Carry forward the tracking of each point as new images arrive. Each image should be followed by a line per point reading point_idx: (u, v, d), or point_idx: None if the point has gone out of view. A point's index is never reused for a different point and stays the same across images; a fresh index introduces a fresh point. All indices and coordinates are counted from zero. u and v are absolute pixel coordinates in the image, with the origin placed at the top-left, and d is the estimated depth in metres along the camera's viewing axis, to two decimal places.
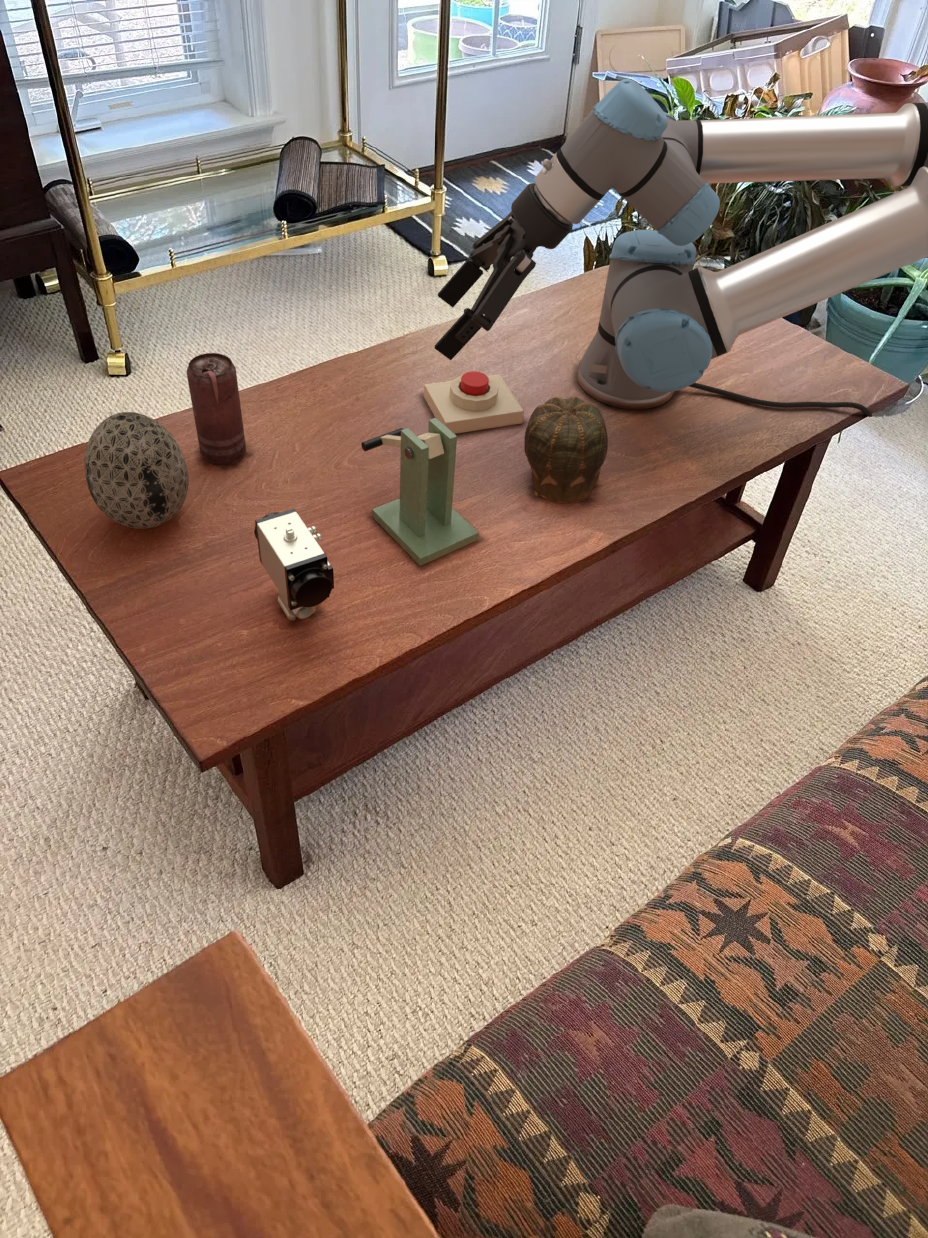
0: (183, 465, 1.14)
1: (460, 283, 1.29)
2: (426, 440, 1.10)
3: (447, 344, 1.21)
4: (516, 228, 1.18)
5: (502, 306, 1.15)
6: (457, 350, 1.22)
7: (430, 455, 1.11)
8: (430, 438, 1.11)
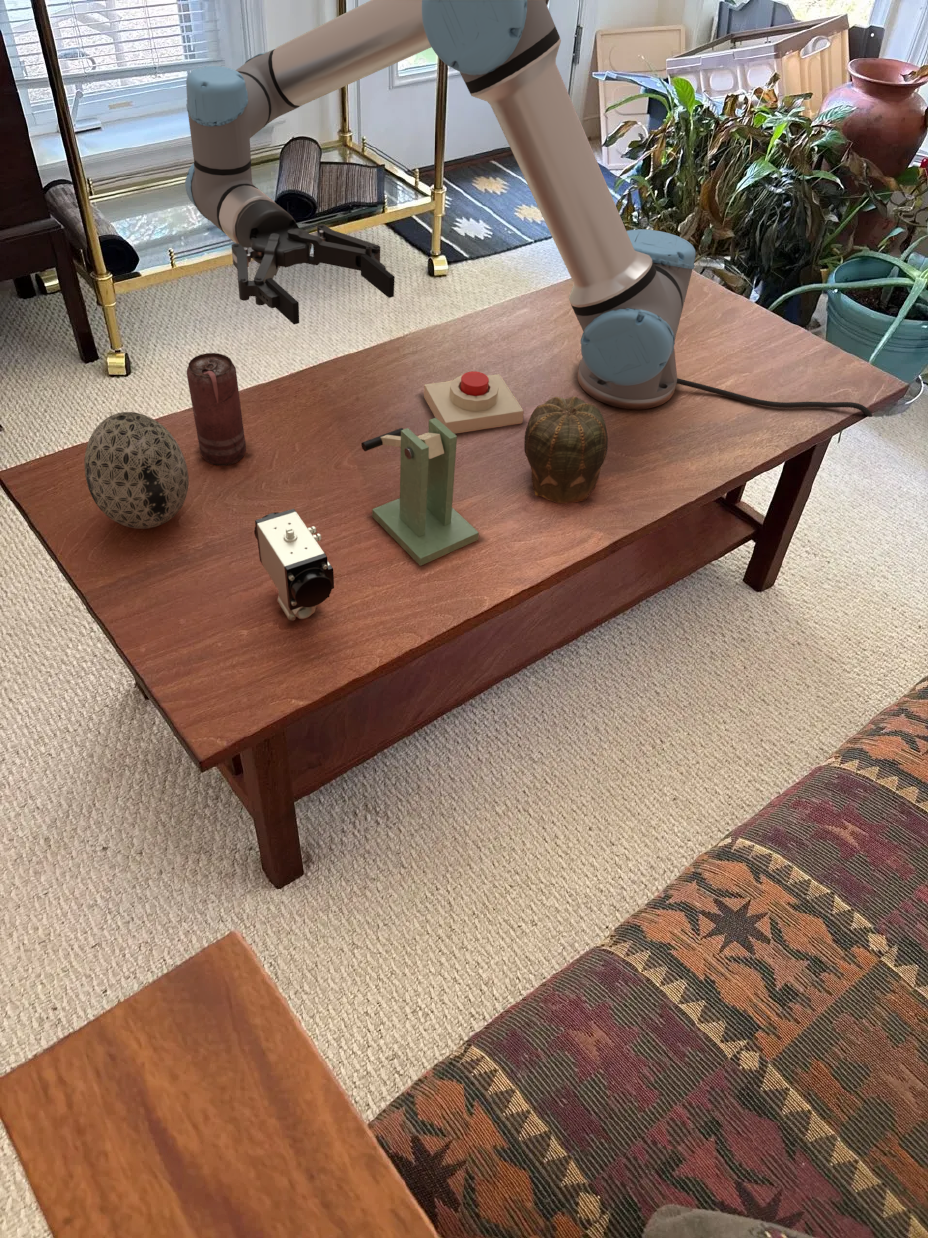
0: (183, 465, 1.14)
1: (374, 276, 1.20)
2: (426, 440, 1.10)
3: (287, 311, 1.13)
4: None
5: (237, 270, 1.16)
6: (286, 299, 1.12)
7: (430, 455, 1.11)
8: (430, 438, 1.11)
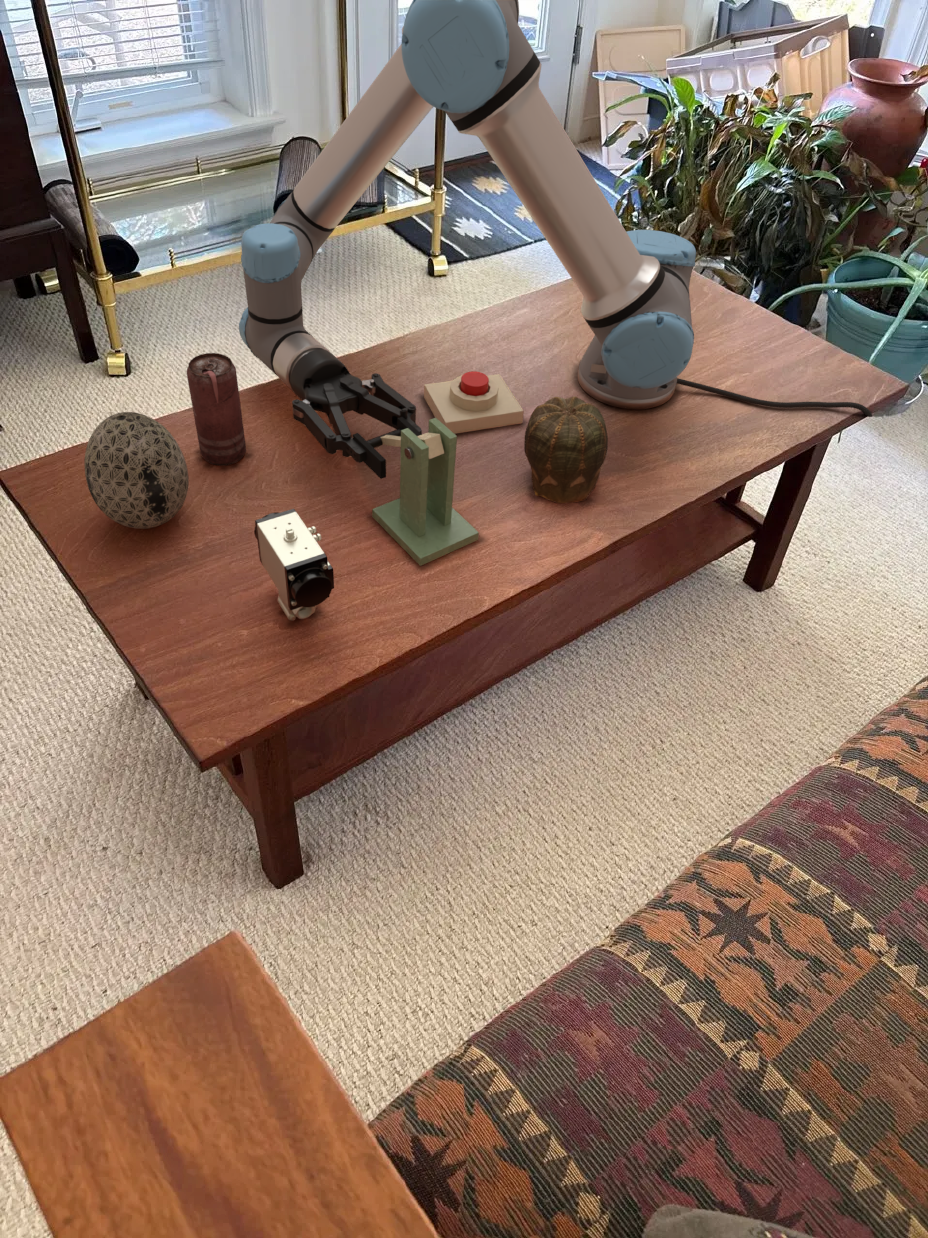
0: (183, 465, 1.14)
1: None
2: (426, 440, 1.10)
3: (374, 466, 1.18)
4: None
5: (316, 427, 1.21)
6: (373, 456, 1.17)
7: (430, 455, 1.11)
8: (430, 438, 1.11)
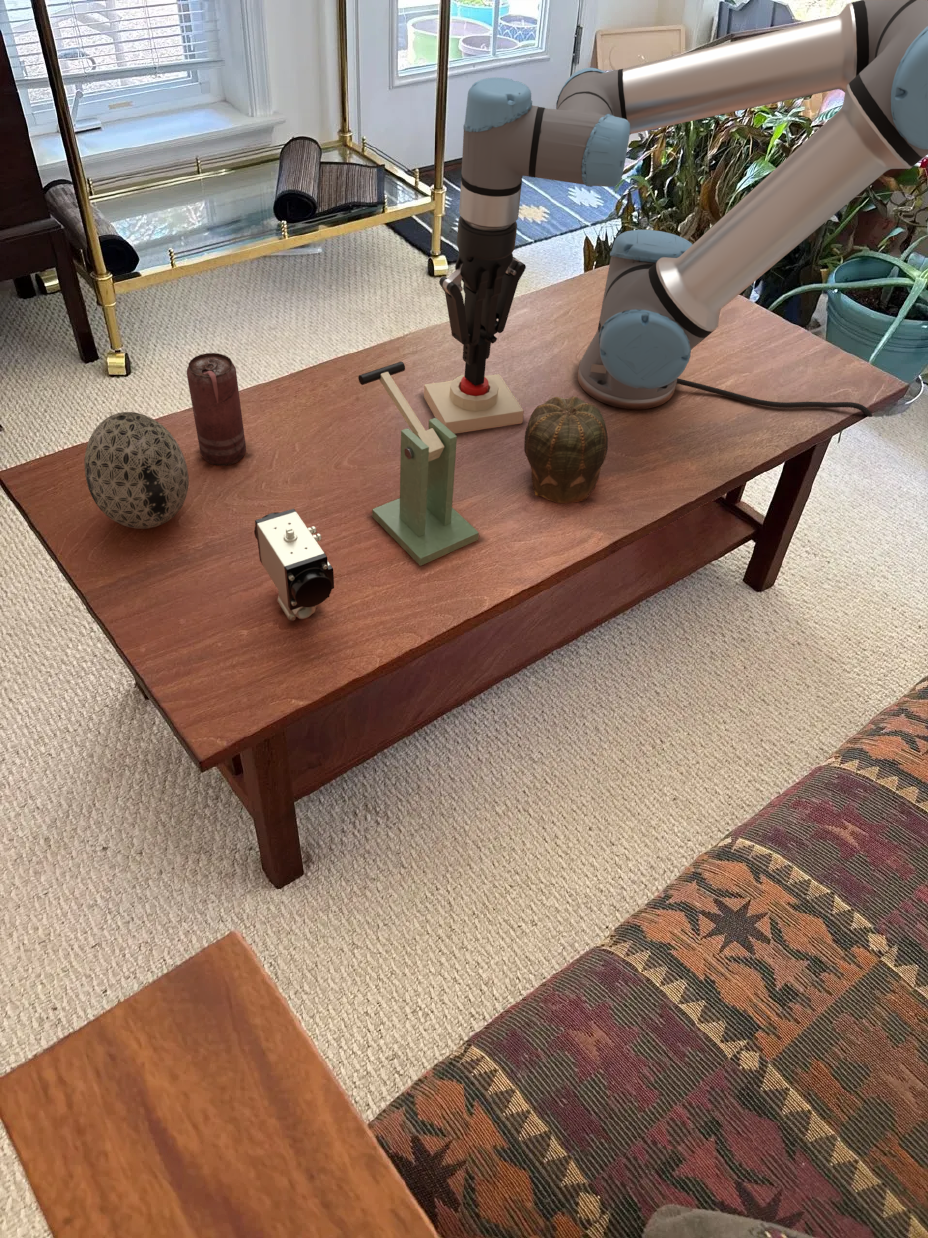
0: (183, 465, 1.14)
1: None
2: (430, 452, 1.11)
3: (469, 370, 1.36)
4: None
5: (458, 324, 1.27)
6: (475, 374, 1.35)
7: None
8: (434, 450, 1.11)
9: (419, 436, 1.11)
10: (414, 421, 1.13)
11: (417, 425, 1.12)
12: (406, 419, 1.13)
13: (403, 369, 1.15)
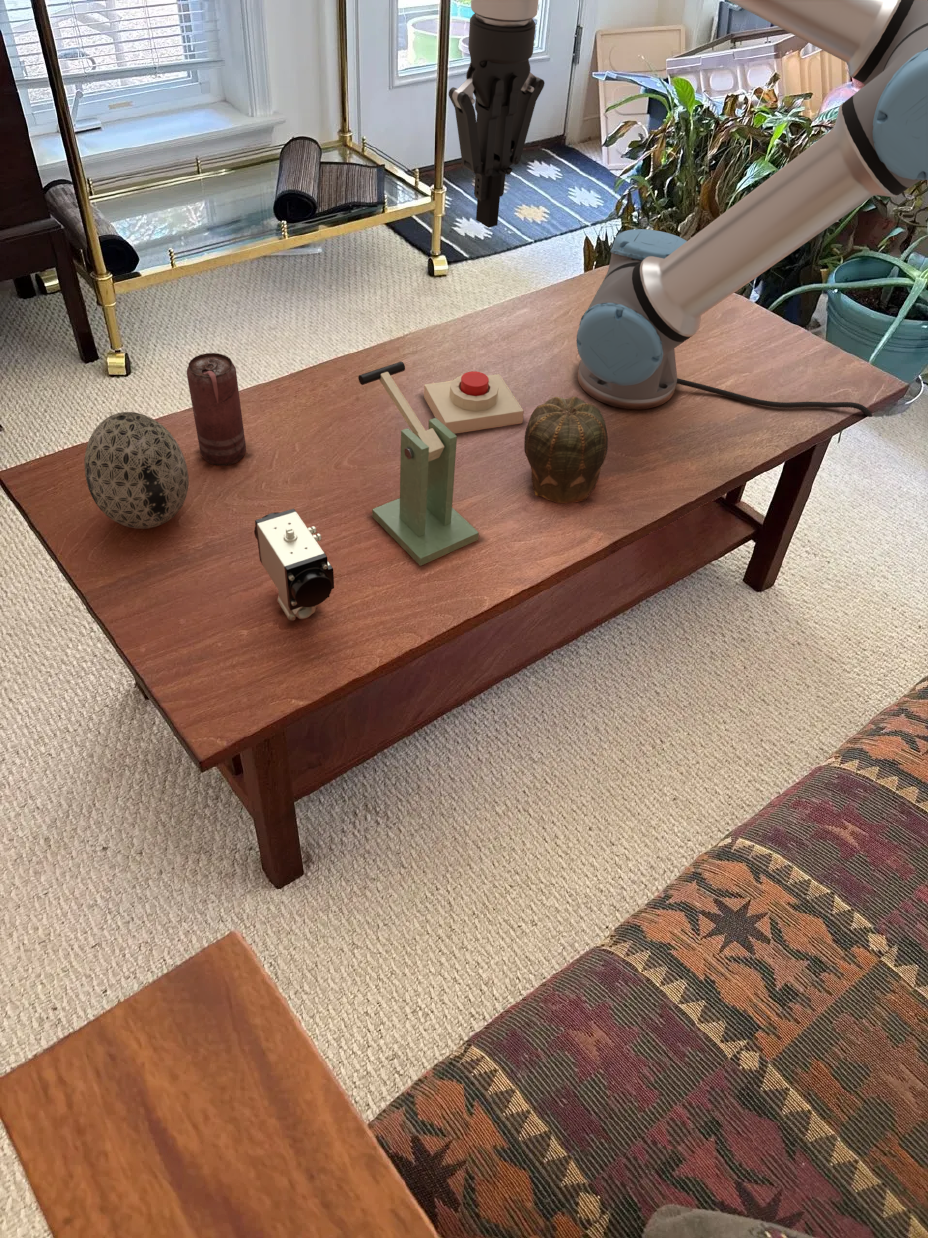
0: (183, 465, 1.14)
1: None
2: (430, 452, 1.11)
3: (481, 210, 1.23)
4: None
5: (469, 147, 1.14)
6: (488, 214, 1.22)
7: None
8: (434, 450, 1.11)
9: (419, 436, 1.11)
10: (414, 421, 1.13)
11: (417, 425, 1.12)
12: (406, 419, 1.13)
13: (403, 369, 1.15)
